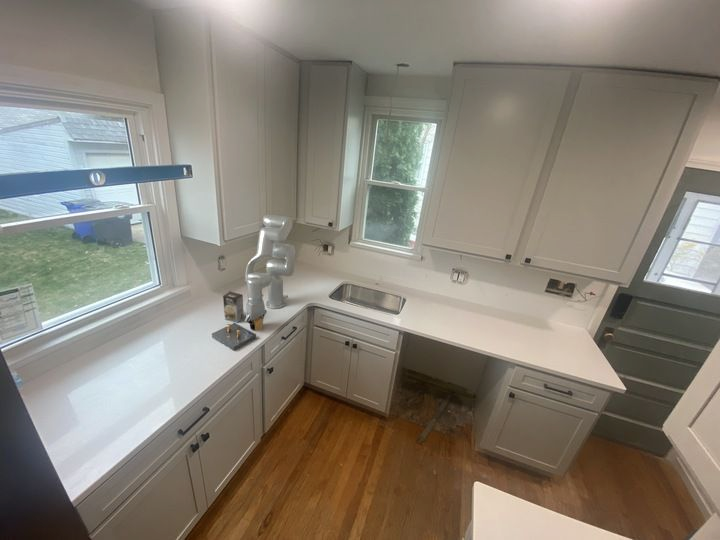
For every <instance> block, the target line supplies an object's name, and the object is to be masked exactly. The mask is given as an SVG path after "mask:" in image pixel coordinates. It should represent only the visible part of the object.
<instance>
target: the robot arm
mask: <svg viewBox="0 0 720 540" xmlns="http://www.w3.org/2000/svg"><path fill="white" fill-rule="evenodd" d="M262 222H263V223H262V224H263V225H264V227H262V228H260V230H259V232H258V233H259V234H258V239H257V240H258V241H257V247H256V253H255V255H254V256H252V257H251V258H250V260H249V261H248V263H247V264H246V266H245V267H246V268H245V275H244V280H245V282H246V285H247V303H246V306H245V319H244V322H245V323H248V324H249V328H250V330H253V331H255V324H254V319H256V318H258V317H260V318H262V319H263V320H264V317H265V316H266V314H267V312H268V311H267V310H266V308H265V307H267V308H269V309H274V310H275V309H277V310H278V309H282V308H283V307H285V306H286V303H287V302H286V299H288V298H289V296H288V294H287V295H285V294H284V279H283V277H291V276H293V275H294V272H295V262H296V248H295V246H294V245H292V244H289V243H285V241H286V239H287V237H288V235H289V234H290V232H291V230H292V228H293V221H292V218H291V217H288V216H282V215H274V214H265V215H264V216H263V218H262ZM271 257H272V258H275V259H269V258H271ZM266 259H269V260H267V262H266V263H265V270H266V272H265V273H264V272H258V271H254V270H255V269H254V268H255V267H256V264H257V263H259V262H260V261H262V260H266ZM281 259H282V260H281ZM265 288H267V300H266V302H264V299H263V297H264V294H263V289H265ZM251 320H252V322H251Z"/></svg>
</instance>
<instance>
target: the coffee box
mask: <svg viewBox="0 0 720 540" xmlns="http://www.w3.org/2000/svg"><path fill="white" fill-rule="evenodd" d="M243 298H244V297H243V294H242V293H238V292H233V291H228V292H227V293H225V294H223V296H222V299H223V311H224V320H226V321H230V322H233V323H236V324H238V323H239V322H241V321H242V320H244V317H245V313H244V299H243Z"/></svg>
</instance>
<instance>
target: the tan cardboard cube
mask: <svg viewBox="0 0 720 540" xmlns="http://www.w3.org/2000/svg"><path fill="white" fill-rule="evenodd" d="M251 322H252V320H251ZM254 324H255V330H254V331H255V332H256V331H259V330H261V329H262V328H264V319H262V318H260V317H258V318H256V319H254Z"/></svg>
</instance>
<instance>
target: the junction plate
mask: <svg viewBox="0 0 720 540" xmlns="http://www.w3.org/2000/svg"><path fill="white" fill-rule="evenodd" d="M211 338H212V339H214V340H215V341H217V342H219V343H220V344H222V345H223V344H224V346H225V347H226V348H228V347H229V348H228V349H230V350H232V351H233V350H234V351H236V350H238V349H241V347H243V346H246V345H247V344H248V343H250V342H252V341H254V340H255V339H257V334H256V333H254V332H253V331H250V330H249V329H248V328H245V327H243V326H241V325H239V324H238V323H236V322H233V323H228V324H226V326H224V327H223V328H220V329H219V330H216V331H215V332H213V333H211Z"/></svg>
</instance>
